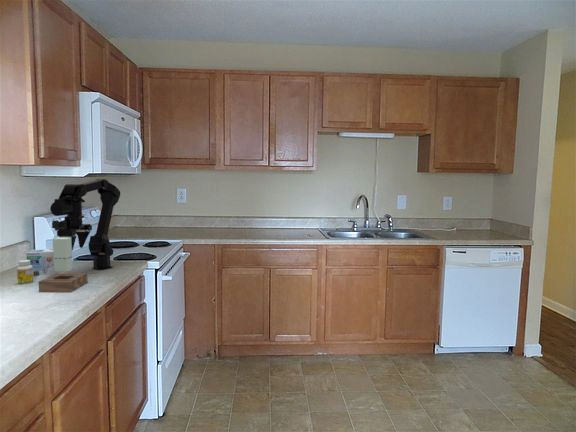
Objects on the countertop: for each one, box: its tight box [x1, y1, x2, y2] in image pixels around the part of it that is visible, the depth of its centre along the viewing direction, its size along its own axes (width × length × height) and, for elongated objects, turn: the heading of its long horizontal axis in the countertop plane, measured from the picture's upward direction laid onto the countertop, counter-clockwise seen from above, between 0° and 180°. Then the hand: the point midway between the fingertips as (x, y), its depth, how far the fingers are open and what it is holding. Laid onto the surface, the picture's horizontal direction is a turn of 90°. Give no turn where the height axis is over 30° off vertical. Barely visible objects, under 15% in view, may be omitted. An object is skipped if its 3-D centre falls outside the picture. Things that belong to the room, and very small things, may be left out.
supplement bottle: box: [16, 259, 34, 285], centre depth 165 cm, size 5×5×10 cm
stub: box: [52, 236, 74, 272], centre depth 158 cm, size 4×5×12 cm
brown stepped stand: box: [38, 272, 89, 293], centre depth 159 cm, size 20×16×5 cm
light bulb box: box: [26, 248, 59, 277], centre depth 180 cm, size 11×7×11 cm, turn 105°
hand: (76, 249), depth 176 cm, fingers open, 9 cm apart
